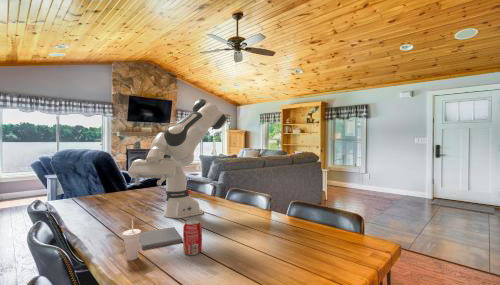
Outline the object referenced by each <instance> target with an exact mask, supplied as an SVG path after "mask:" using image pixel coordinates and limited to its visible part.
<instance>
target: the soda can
mask: <svg viewBox="0 0 500 285" xmlns="http://www.w3.org/2000/svg"><path fill="white" fill-rule="evenodd" d="M182 230H183V232H182V234H183V235H182V243H183V244H182V246H183V253H184V254H186V255H188V256H195V255H198V254H199V253H201V252H202V249H203V225H202V223H201V220H200V219H197V218H191V219H186V220H185V222H184V225H183V228H182Z"/></svg>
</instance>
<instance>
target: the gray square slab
mask: <svg viewBox="0 0 500 285" xmlns="http://www.w3.org/2000/svg"><path fill="white" fill-rule="evenodd" d="M178 243H183V236H181V234H180V232H178V230H177V229H176V228H175V227H174V226H172V227H166V228H160V229H154V230H149V231H148V230H147V231H141V235H140V241H139V246H140V248H141V250H147V249H152V248H153V249H154V248H158V247H163V246H169V245H173V244H178Z"/></svg>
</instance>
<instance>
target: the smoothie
mask: <svg viewBox="0 0 500 285" xmlns="http://www.w3.org/2000/svg"><path fill="white" fill-rule="evenodd" d="M141 232H142V230H141V229H138V228H134V219H131V229H128V230H124V231H123V232H122V235H121V236H122V238H123V243H124V248H125V249H124V251H125V257H126V258H125V259H126V260H127V261H134V260H137V259H138V256H139V251H140V250H139V248H140V235H141Z"/></svg>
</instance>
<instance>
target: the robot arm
mask: <svg viewBox="0 0 500 285" xmlns="http://www.w3.org/2000/svg"><path fill="white" fill-rule="evenodd" d="M192 111H193V112H190V113H188V115H186V116H185V117H183V118H182V119H181V120H179V121H178V122H177V123H175V124H173V125H172V126H169V127H168V128H166V130H165V132H159V133H158V134H157V135H155V137H154V138H153V140H152V143H151V145H150V149H149V151H148V154H147V155H146V158H145V159H136V160H134V161H132V163H131V165H130V167H129V168H128V170H127V174H128V176H129V178H132V179H134V186H139V185H140V183H141V181H140V180H139V179H141V178H142V179H144V178H145V179H158V180H157V182H156V185H157V186H162V183H164V182H165V181H166V184H165V186H166V190H165V195H164V196H165V208H164V211H163V217H165V218H174V219H175V218H176V219H183V218H184V219H185V218H188V217H194V216H198V215H202V214H204V209H202V208H201V207H200V204H199V201H198V200H197V199H196V198H194V197H192V196H191V195H192V190H190V189H187V176H186V173H184V171H183V167H184V168H185V167H188V166H191V165H192V164H193V162H194V160H195V154H194V153H195V150H196V148H197V147H198V145H199V144H200V142H202V140H203V139H204V137H205V136H206V135H207V133H208V131H209V129H211V130H220V129H223V127H224V126H225V125H226V124H227V120H228V118H227V116H226V114H225V113H223V112H222V111H221V110H220V109H219V107H218V105H216V104H214V103H210V102H209V101H207V100H206V99H203V98H200V99H198V100H196V101H195V103H194V104H193V107H192Z"/></svg>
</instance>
